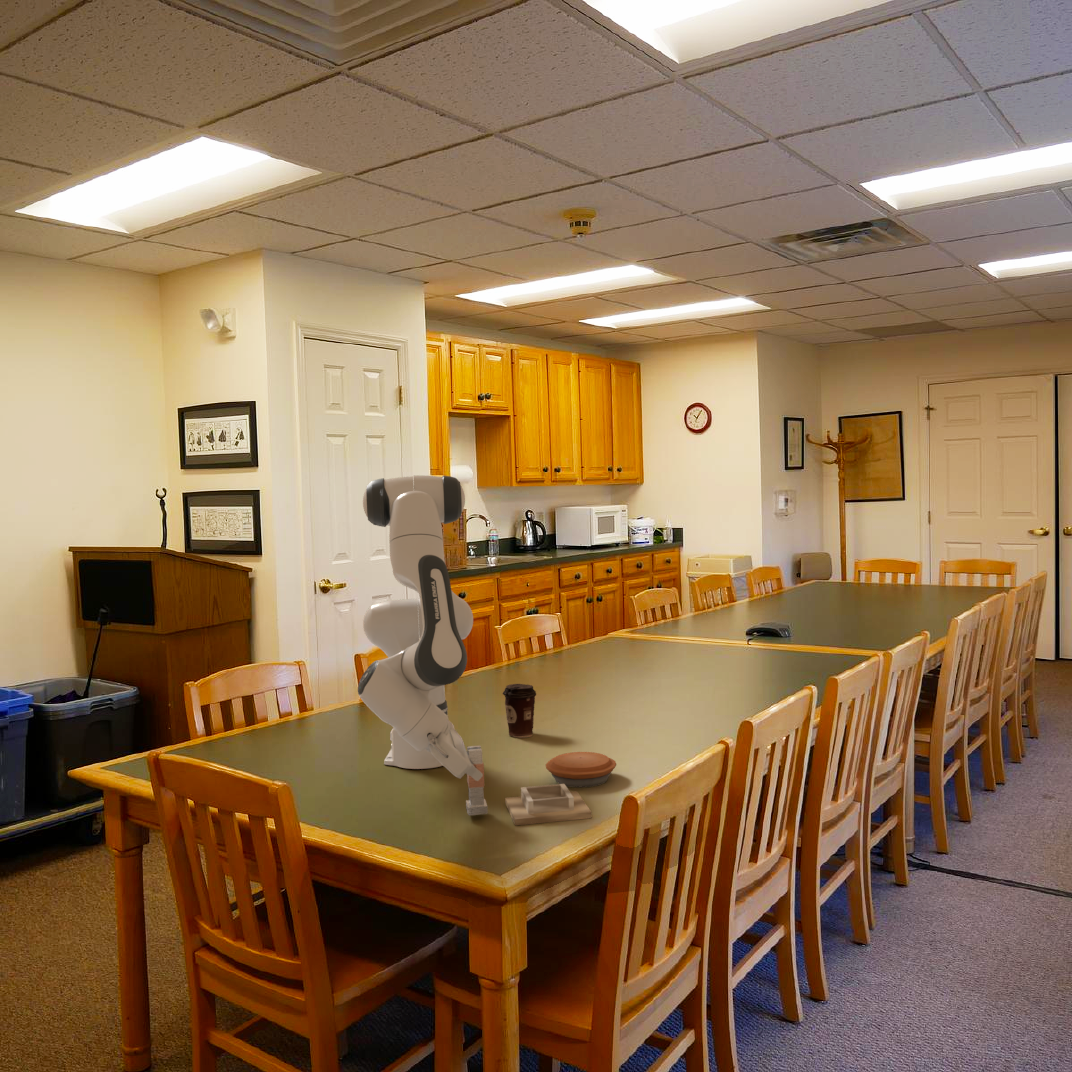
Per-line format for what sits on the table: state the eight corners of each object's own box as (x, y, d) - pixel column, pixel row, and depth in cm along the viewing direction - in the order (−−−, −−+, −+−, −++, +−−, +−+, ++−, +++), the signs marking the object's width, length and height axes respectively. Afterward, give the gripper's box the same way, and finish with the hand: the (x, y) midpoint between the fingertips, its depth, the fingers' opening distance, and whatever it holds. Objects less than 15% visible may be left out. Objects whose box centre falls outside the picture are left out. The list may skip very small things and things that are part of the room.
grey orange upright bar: (466, 807, 189) (463, 745, 188) (485, 806, 190) (482, 744, 189) (468, 815, 185) (465, 752, 184) (487, 813, 185) (485, 750, 184)
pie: (612, 768, 217) (611, 746, 217) (620, 789, 201) (620, 766, 201) (544, 771, 216) (544, 749, 216) (547, 792, 201) (547, 769, 201)
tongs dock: (505, 803, 194) (504, 785, 194) (577, 797, 197) (576, 779, 197) (515, 825, 182) (514, 806, 181) (591, 818, 184) (590, 799, 184)
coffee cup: (508, 740, 243) (506, 690, 242) (500, 733, 251) (498, 684, 250) (541, 737, 245) (539, 687, 244) (532, 729, 253) (530, 681, 252)
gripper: (441, 729, 174) (496, 777, 177) (434, 704, 195) (483, 747, 197) (418, 755, 174) (473, 803, 176) (413, 727, 194) (462, 770, 196)
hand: (478, 773), depth 187 cm, fingers closed on grey orange upright bar, 4 cm apart
